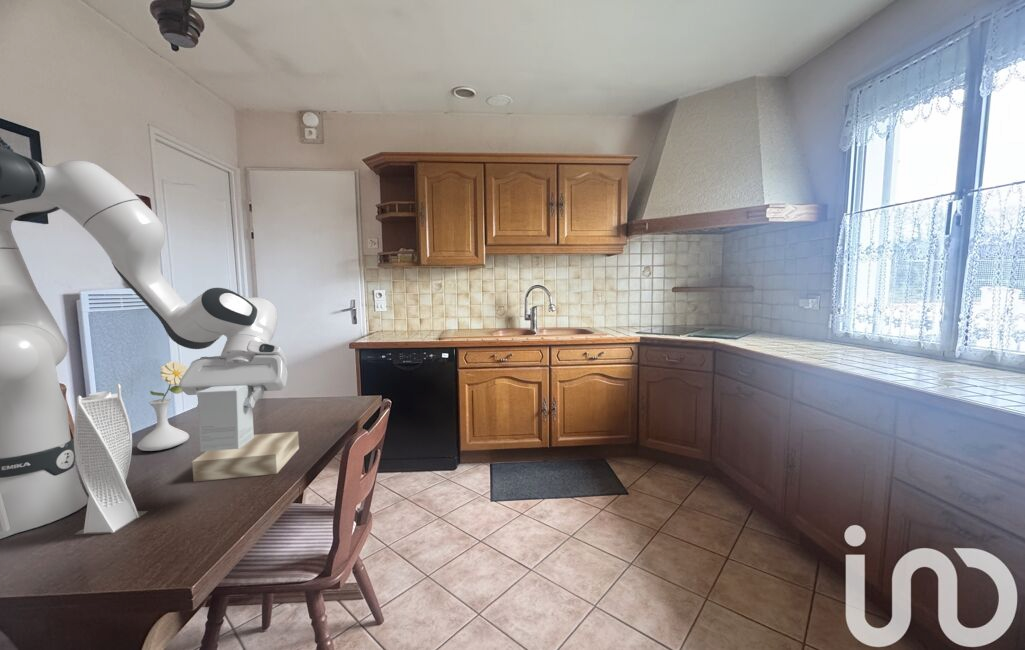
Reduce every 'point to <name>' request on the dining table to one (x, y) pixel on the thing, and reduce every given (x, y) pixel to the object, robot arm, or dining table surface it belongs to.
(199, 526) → the dining table surface
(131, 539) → the dining table surface
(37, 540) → the dining table surface
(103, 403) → the skyscraper
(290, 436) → the birch stand
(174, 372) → the flower in vase
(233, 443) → the supplement box
